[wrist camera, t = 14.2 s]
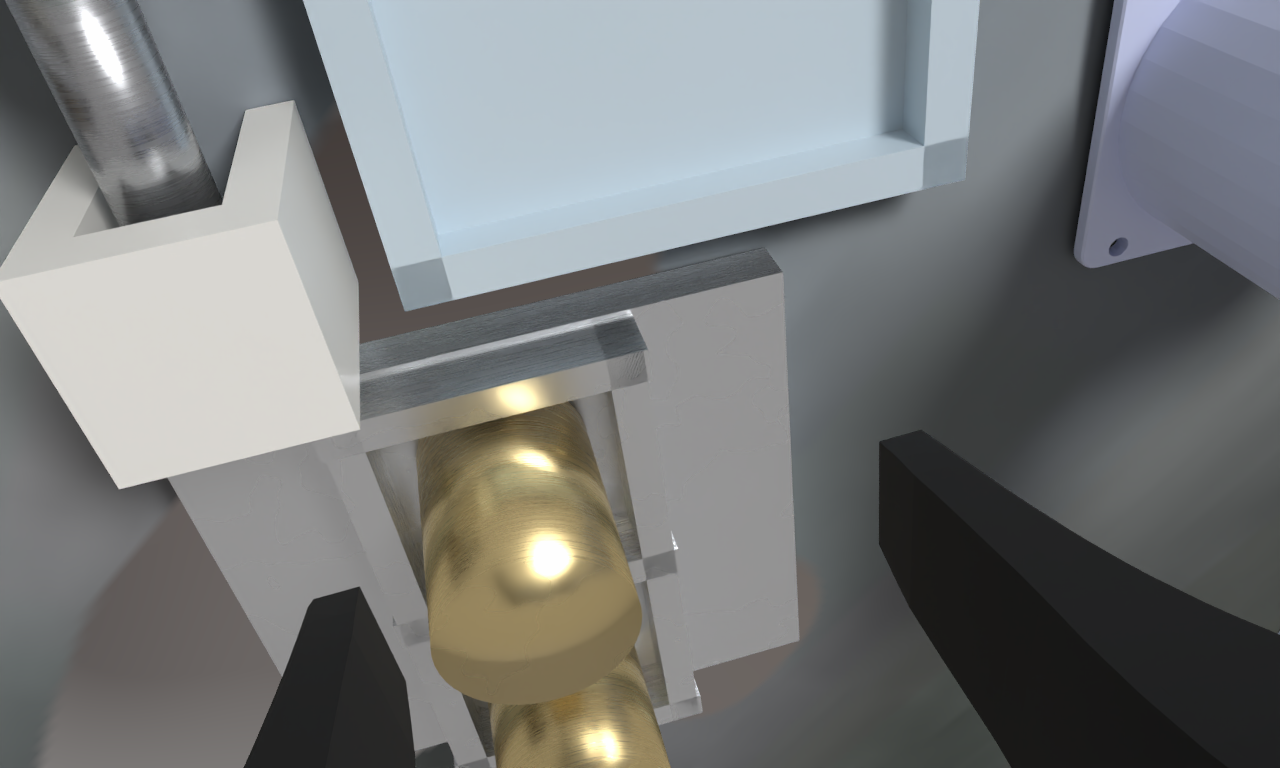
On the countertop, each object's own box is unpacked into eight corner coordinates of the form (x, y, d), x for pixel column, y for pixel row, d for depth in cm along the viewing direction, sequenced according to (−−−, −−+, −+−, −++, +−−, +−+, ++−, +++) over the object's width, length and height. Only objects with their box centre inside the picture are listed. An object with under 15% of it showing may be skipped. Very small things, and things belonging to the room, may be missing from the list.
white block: (294, 99, 18) (278, 220, 14) (358, 281, 21) (360, 429, 17) (74, 145, 18) (-9, 283, 14) (166, 326, 20) (118, 489, 16)
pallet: (765, 247, 23) (807, 305, 20) (785, 610, 30) (817, 680, 28) (148, 394, 21) (125, 474, 19) (337, 737, 29) (336, 821, 27)
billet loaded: (613, 560, 26) (667, 739, 21) (633, 654, 28) (685, 832, 24) (463, 600, 25) (487, 792, 21) (497, 693, 28) (524, 882, 23)
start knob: (126, -192, 14) (84, -170, 12) (294, 238, 18) (286, 315, 16) (-79, -157, 14) (-163, -127, 11) (140, 273, 18) (110, 356, 16)
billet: (583, 370, 22) (640, 540, 17) (592, 502, 24) (643, 681, 20) (403, 398, 21) (414, 581, 17) (429, 531, 23) (446, 722, 19)
